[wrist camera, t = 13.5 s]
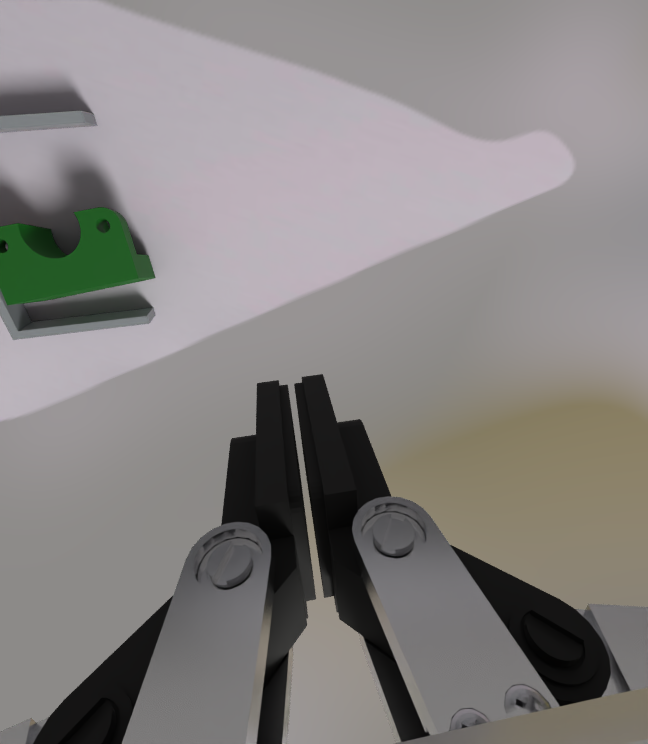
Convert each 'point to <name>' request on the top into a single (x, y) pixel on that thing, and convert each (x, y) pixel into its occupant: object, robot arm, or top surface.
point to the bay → (17, 313)
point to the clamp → (69, 259)
